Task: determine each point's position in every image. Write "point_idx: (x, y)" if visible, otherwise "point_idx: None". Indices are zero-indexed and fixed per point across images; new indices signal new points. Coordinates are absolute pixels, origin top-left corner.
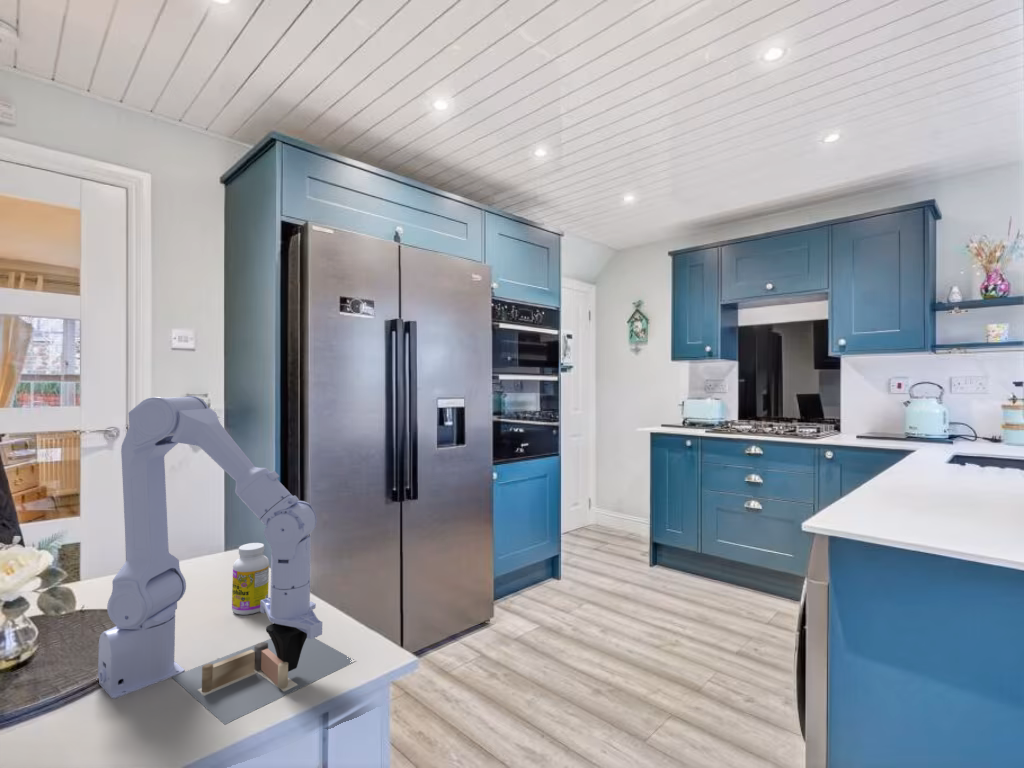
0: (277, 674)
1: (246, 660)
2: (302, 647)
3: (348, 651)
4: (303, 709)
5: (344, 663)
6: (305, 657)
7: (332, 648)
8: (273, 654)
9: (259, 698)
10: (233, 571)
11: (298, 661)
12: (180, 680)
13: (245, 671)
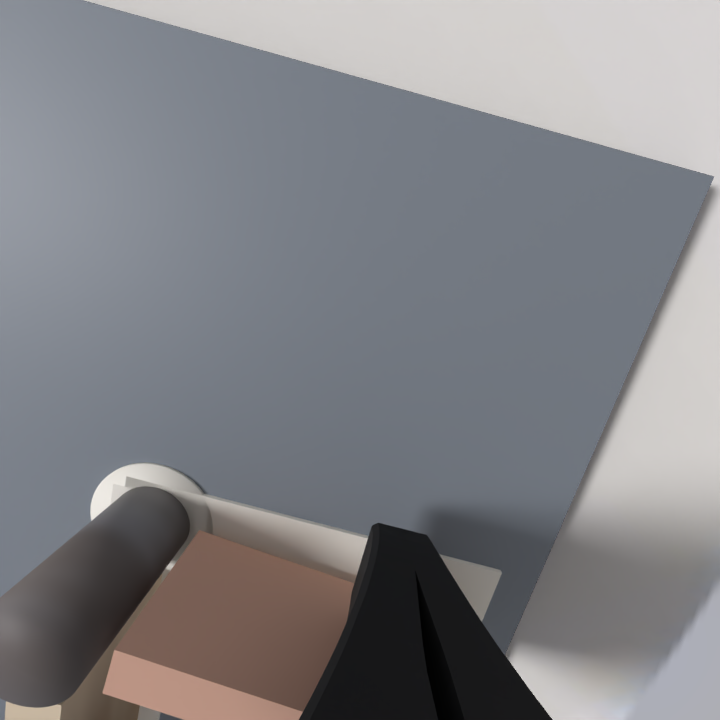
0: None
1: (92, 699)
2: (527, 687)
3: (524, 46)
4: (652, 672)
5: (639, 253)
6: (304, 311)
7: (395, 95)
8: (254, 703)
9: None
10: None
11: (443, 561)
12: None
13: None
